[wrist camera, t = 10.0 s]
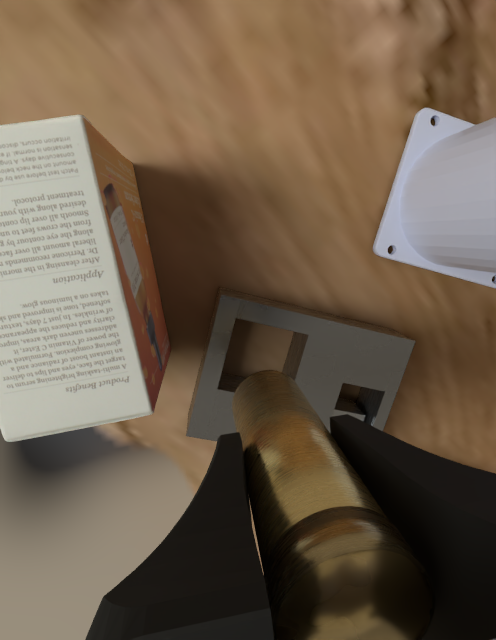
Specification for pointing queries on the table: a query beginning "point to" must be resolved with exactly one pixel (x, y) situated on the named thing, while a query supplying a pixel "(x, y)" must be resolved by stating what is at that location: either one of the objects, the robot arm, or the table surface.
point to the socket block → (300, 362)
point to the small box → (74, 283)
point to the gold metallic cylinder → (322, 527)
